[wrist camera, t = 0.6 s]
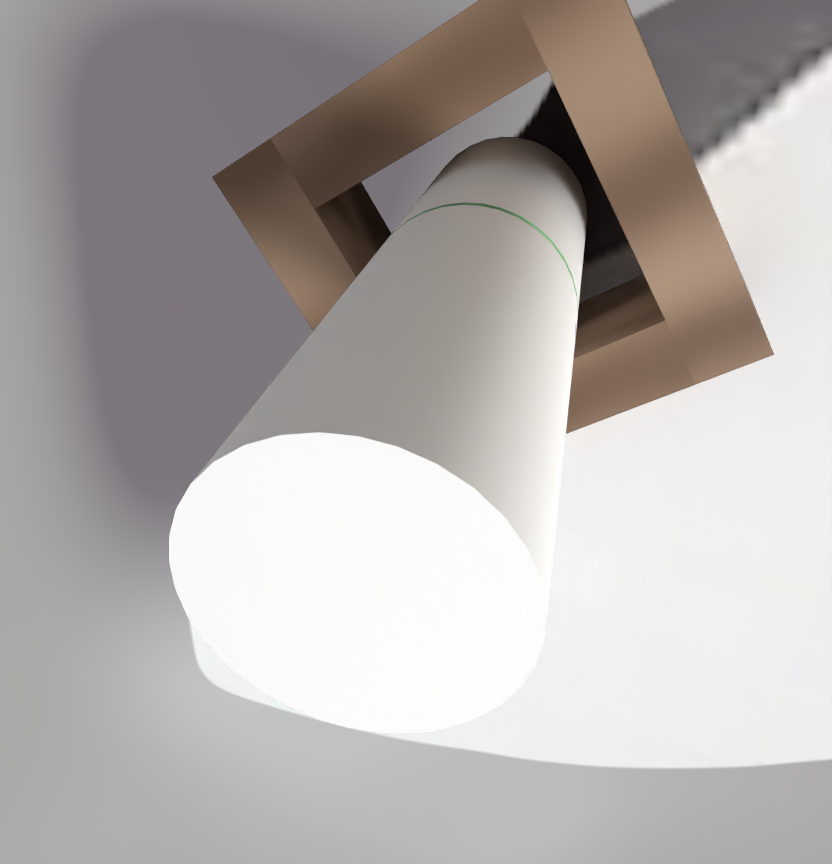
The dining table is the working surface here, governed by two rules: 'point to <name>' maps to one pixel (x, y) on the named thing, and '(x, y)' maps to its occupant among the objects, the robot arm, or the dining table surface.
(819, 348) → the dining table surface
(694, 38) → the dining table surface
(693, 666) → the dining table surface
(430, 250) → the cylindrical container
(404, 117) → the frame
